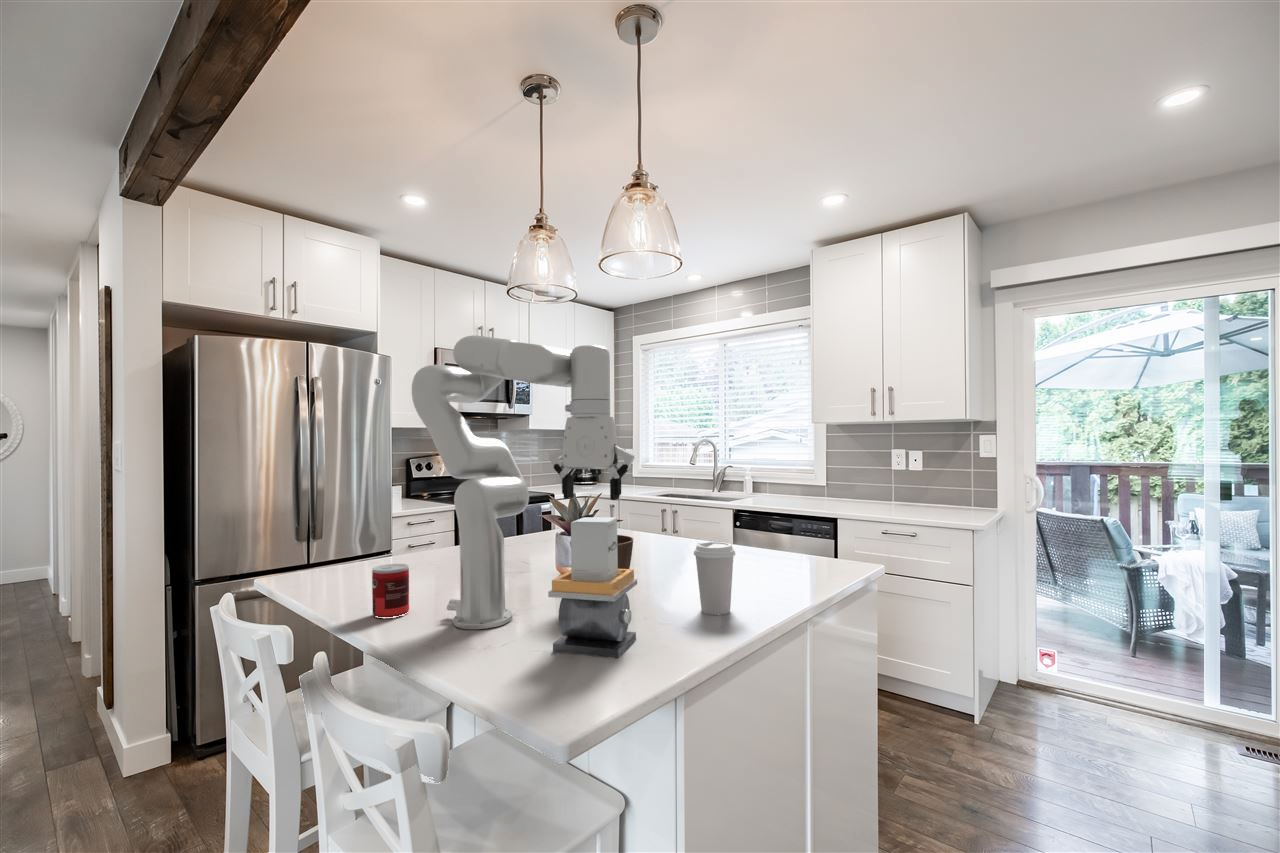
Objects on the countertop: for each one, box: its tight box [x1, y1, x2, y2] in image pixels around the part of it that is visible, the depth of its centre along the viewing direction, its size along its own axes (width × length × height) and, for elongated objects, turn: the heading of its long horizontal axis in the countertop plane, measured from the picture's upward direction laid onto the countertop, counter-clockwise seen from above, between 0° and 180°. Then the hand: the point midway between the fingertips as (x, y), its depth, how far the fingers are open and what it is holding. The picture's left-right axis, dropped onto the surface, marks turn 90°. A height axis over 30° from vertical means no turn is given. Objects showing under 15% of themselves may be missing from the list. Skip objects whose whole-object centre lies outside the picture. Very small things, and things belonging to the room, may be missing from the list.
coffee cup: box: [693, 541, 736, 616], centre depth 132 cm, size 10×10×15 cm
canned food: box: [371, 563, 410, 617], centre depth 134 cm, size 8×8×11 cm
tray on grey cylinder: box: [547, 568, 638, 659], centre depth 111 cm, size 14×13×14 cm
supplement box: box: [570, 516, 618, 582], centre depth 111 cm, size 7×7×13 cm
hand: (591, 498), depth 112 cm, fingers open, 9 cm apart
